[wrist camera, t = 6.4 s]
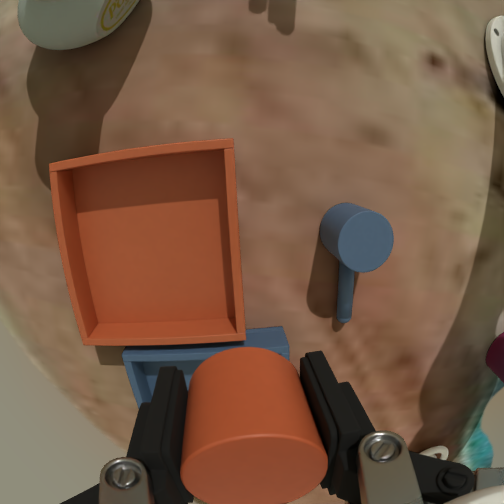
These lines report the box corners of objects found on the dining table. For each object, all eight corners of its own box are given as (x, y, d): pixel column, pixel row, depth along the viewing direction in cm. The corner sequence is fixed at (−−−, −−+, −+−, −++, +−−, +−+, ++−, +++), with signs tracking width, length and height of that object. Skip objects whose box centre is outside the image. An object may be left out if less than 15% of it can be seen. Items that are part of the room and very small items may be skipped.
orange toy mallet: (179, 350, 10) (163, 440, 6) (300, 338, 10) (336, 423, 6) (218, 494, 13) (221, 558, 9) (297, 485, 13) (312, 547, 9)
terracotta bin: (68, 162, 20) (48, 163, 17) (232, 141, 21) (233, 138, 18) (96, 326, 24) (83, 345, 21) (243, 320, 24) (246, 340, 21)
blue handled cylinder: (319, 203, 22) (338, 212, 19) (369, 202, 23) (395, 210, 19) (317, 321, 25) (332, 348, 21) (363, 315, 25) (383, 339, 21)
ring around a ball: (427, 468, 34) (451, 434, 32) (440, 493, 29) (469, 459, 27) (385, 477, 34) (409, 443, 32) (397, 505, 28) (425, 473, 26)
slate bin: (131, 335, 24) (121, 355, 21) (282, 325, 25) (289, 345, 22) (163, 441, 28) (159, 462, 25) (282, 435, 28) (287, 456, 25)
